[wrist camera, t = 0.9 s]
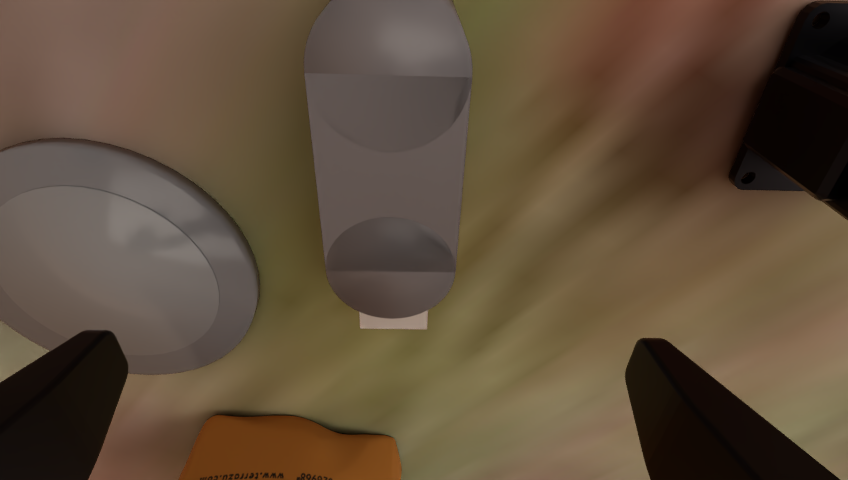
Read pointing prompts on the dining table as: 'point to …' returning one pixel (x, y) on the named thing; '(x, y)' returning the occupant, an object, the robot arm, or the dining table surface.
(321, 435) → the coffee package
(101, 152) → the gray plate
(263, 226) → the dining table surface
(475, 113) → the dining table surface
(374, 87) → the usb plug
